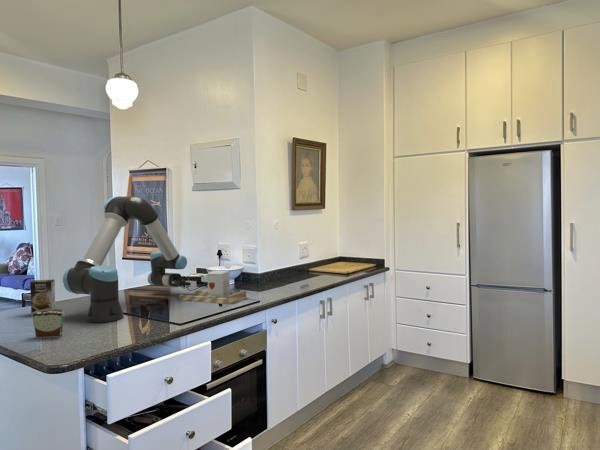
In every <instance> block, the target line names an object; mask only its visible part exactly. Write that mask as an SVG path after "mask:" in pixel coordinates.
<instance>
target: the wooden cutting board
mask: <svg viewBox="0 0 600 450" xmlns="http://www.w3.org/2000/svg"><path fill="white" fill-rule="evenodd" d="M194 294H195V295H190V294H189V295H188V294H180V295H179V301H185V302H186V301H188V302H198V303H210V304H212V303H213V304H222V305H233V304H235V303H238V302H241V301H243V300H245V299H247V290H240V291H238V292H235V290H234V289H230V295H229V296H227V298H218V297H217V296H208V290H203V289H202V290H200V289H196V290H195V291H194ZM232 303H233V304H232Z"/></svg>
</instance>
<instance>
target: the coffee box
mask: <svg viewBox="0 0 600 450" xmlns="http://www.w3.org/2000/svg"><path fill="white" fill-rule="evenodd" d="M29 285H30V286H29V287H30V313H31V314H32V312H35V311H39V310H44V309H56V287H55V285H56V284H55V279H37V280H36V279H34V280H32V281H30V282H29ZM31 314H30V315H31Z"/></svg>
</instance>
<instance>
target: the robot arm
mask: <svg viewBox="0 0 600 450" xmlns="http://www.w3.org/2000/svg"><path fill="white" fill-rule="evenodd" d="M103 209H104V210H103V212H104V215H103V216H104V219H105V220H104V222H103V223H102V224H101V226H100V228H99V230H98V232H96V233H97V234H96V235H95V237H94V238H93V240H92V243H91V244H90V246H89V248H88V249H87V251H86V253H85V254H84V256H83V258H82V259H80V260H77V262H76V264H75V265H74V267H70V268H68V269H67V270H66V271H65V272H64V273H63V276H62V283H63V287H64V288H65V290H66V291H67V292H69V293H72V294H75V295H89V297H90V302H89V303H90V304H89V308H88V310H87V314H86V322H88V323H92V324H94V323H97V324H98V323H99V324H100V323H110V322H113V321H119V320H121V319H123V318H124V310H123V308H122V306H121V302H120V299H119V296H120V295H119V274H118V270H117V268H115V267H113V266H111V265H110V266H109V265H103V262H104V261H105V259H106V258H107V255H108V253H109V252H110V250H111V249H112V246H113V244H114V243H115V241H116V239H117V237H118V236H119V234H120V232H121V230H122V228H124V227H126V226H127V225H128V223H129V222H130V220H136V221H138V222H139V223H140V225H141V226H144V227H145V229H146V231H147V232H148V234H149V235H150V238H152V240H153V241H154V243H155V245H156V247H157V248H158V251H157V250H156V251H153V252H151V253H150V255H149V256H150V257H149V258H150V259H149V261H150V269H151V272H149V274H148V275H147V283H148V284H149V285H151V286H158V287H168V288H170V287H173V288H178V287H180V288H181V287H182V288H186V287H192V288H193V287H194V288H196V287H197V282H201V283H208V276H204V275H202V274H201V275H199V276H198V275H196V276H191V275H189V276H188V275H187V276H183V275H181V273H175V272H166V270H184V269H186V267H187V264H188V260H187V259H188V258H187V257H186V256H184V255H180V253H179V252H178V250H177V249H176V247H175V245H174V244H173V242H172V240H171V238H170V237H169V235H168V234H167V232H166V230H165V228H164V226H163V225H162V223H161V222H160V220H159V214H158V213H157V210H155V208H154V206H153V205H152V204H151V203H150V202H148V201H147V200H146V199H145V198H143V197H141V196H136V195H131V196H114V197H110V198H108V199H107V200H106V202H105V204H104V206H103Z"/></svg>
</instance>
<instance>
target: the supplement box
mask: <svg viewBox="0 0 600 450" xmlns="http://www.w3.org/2000/svg"><path fill="white" fill-rule="evenodd" d="M207 277H208V282H207V291H208V296H217V297H218V298H227V296H229V295H230V290H231V289H230V288H231V287H230V270H212V271H210V272H209V271H208V272H207Z"/></svg>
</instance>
